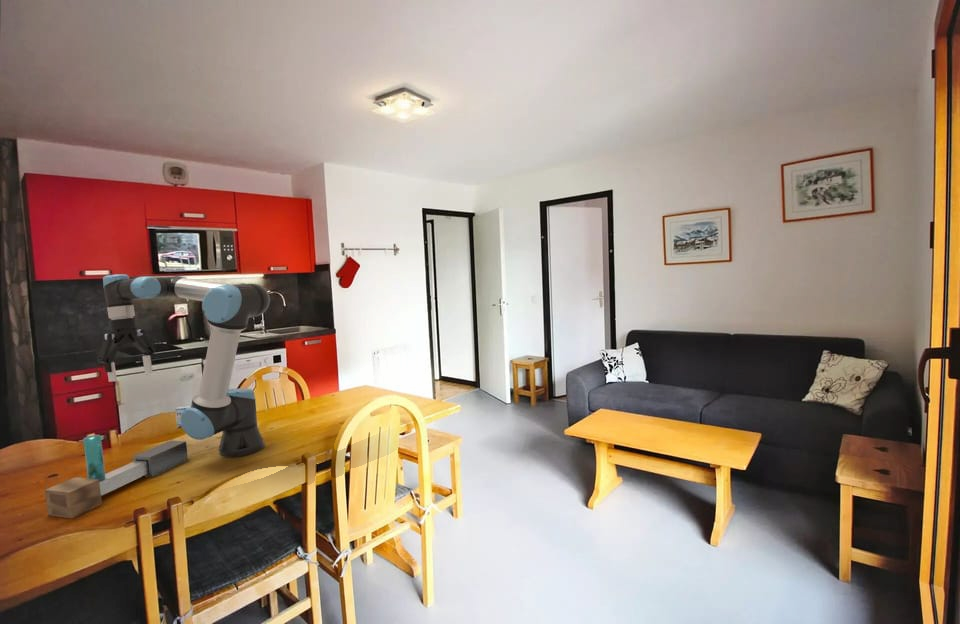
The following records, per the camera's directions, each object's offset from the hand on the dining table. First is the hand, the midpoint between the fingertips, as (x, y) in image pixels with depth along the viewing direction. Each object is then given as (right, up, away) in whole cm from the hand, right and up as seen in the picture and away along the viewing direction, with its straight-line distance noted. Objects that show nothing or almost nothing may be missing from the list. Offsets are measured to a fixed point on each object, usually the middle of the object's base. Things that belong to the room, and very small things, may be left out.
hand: (131, 377), depth 168 cm
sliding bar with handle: (+11, -31, -23) cm, 40 cm away
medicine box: (-3, -27, +38) cm, 47 cm away
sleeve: (+16, -31, -7) cm, 35 cm away
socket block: (+9, -33, -34) cm, 48 cm away
